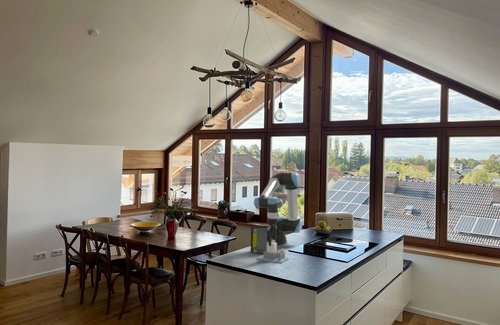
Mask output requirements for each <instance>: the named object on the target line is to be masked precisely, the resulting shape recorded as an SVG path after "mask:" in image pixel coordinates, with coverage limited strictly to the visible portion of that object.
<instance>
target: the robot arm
mask: <svg viewBox="0 0 500 325" xmlns="http://www.w3.org/2000/svg"><path fill="white" fill-rule="evenodd" d="M301 182H302V181H301V176H300V174H299V173H296V172H278V173H275V174H274V175H273V176H271V177H270V179H269V180H268V184H267V185H266V187H264V190H263V191H262V192H261V194H260V196H259V197H254V200H253V206H254V207H255V208H261V209H262V208H263V209H267V213H266V214H267V215H266V216H267V219H266V223H267V224H268V226H269V227H268V228H267V241H269V242H268V250H272V242H274V243H277V245H286V244H288V240H287V236H286V232H287V233H292V234H293V233H294V234H297V233H300V232H301V230H302V228H303V219H301V217H300V216H299V205H298V189H299V187H301ZM279 187H284V189H285V190H286V198H287V216H278V215H279V214H278V213H279V211H278V209H281V208H282V207H283V205H284V201H283V199H282V198H278V197H277V196H273V194H274V192H275V191H276V190H277V188H279Z"/></svg>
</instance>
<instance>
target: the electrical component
mask: <svg viewBox="0 0 500 325" xmlns="http://www.w3.org/2000/svg"><path fill="white" fill-rule="evenodd" d="M268 227H269V225H257V226H256V225H255V226H253V225H251V226H250V253H251V254H263V252H266V251H267V243H268V242H269V241H267V228H268Z"/></svg>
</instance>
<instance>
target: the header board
mask: <svg viewBox="0 0 500 325" xmlns="http://www.w3.org/2000/svg"><path fill="white" fill-rule="evenodd" d="M256 260H259V261H265V262H270V263H271V262H272V263H276V264H283V263H285V262H287V261H288V260H289V258H288V257H286V251H284V248H281V249H280V250H279V251H277V252H276V253H267V251H266V252H263V253H262V255H260V256H258V257H257V258H256Z"/></svg>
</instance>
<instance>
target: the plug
mask: <svg viewBox="0 0 500 325" xmlns="http://www.w3.org/2000/svg"><path fill="white" fill-rule="evenodd" d="M277 246H278V244H277V243H274V242H272V250H268V243H267V253H276V252H278V251H277V250H278V247H277Z"/></svg>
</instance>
